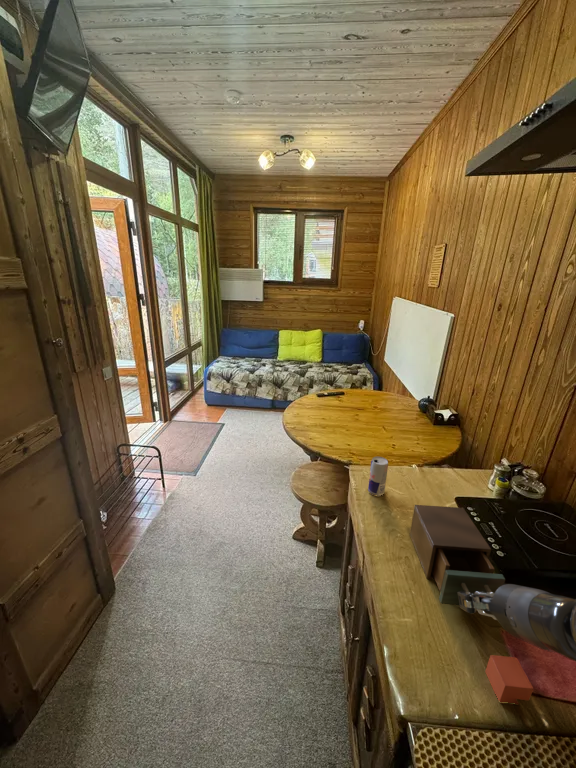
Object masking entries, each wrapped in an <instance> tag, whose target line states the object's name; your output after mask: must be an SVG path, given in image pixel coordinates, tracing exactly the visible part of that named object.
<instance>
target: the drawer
mask: <svg viewBox="0 0 576 768" xmlns="http://www.w3.org/2000/svg"><path fill="white" fill-rule="evenodd" d="M432 574H433V576H434V579H433V580H434V581H435V583H436V585H437V588H438V590H439V592H440V593H439V597H438V600H439V603H440V605H446V606H447V605H449V606H457V607H460V606H459V598H458V593H457V592H459V591H465V592H470V593H474V594H475V592H485V593H495V592H496V590H497V589H498V588H499V587H500V586H502V585H505V582H506V578H505V576H504V575H503V574H502V573H495V567H494V566H493V564H492V562H491V561H490V559H489V560H488V558H487V556H486V555H485V553H484V552H483V551H470V550H457V549H444V548H436V552H435V557H434V562H433V567H432ZM484 598H485V596H484ZM474 601H476V598H475V597H474Z"/></svg>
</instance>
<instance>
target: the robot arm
mask: <svg viewBox="0 0 576 768" xmlns="http://www.w3.org/2000/svg"><path fill="white" fill-rule="evenodd" d="M457 593H458V598H459V606H458V607H459V608H460V609H461V610H463V611H465V612H466V613H468V614H470V615H474V614H476V613H477V612H478V614H479V615H482V616H486V617H490V618H492V619H493V620H495V621H497V622H498V624H499V625H500V627H502V628H503V630H504V631H506V632H507V633H508V634H509V635H510V636H512V637H514V638H516V639H518V640H519V641H522V642H525V643H527V644H530V645H532V646H534V647H536V648H539V649H541V650H543V651H546V652H549V653H553V654H557V655H559V656H561V657H564V658H566V659H568V660H570V661H573V662H575V663H576V598H573V597H569V596H564V595H560V594H555V593H550V592H548V591H546V590H543V589H539V588H535V587H529V586H524V585H520V584H514V583H504V585H502V586H500V587H499V588H498V589H497V590H496V592H495V593H485V592H475V594H474V593H470V592H465V591H459V592H457ZM484 596H485V598H484ZM474 597H475V598H476V601H474Z"/></svg>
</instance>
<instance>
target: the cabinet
mask: <svg viewBox="0 0 576 768" xmlns="http://www.w3.org/2000/svg"><path fill="white" fill-rule="evenodd" d="M409 530H410V531H409V537H410V539H411V542H412V545H413V548H414V550H415V552H416V555H417V557H418V560H419V562H420V565H421V568H422V571H423V573H424V575H425V578H426V580H435V579H434V576H433V574H432V567H433V562H434V557H435V552H436V548H444V549H457V550H470V551H483V552H484V553H485V555H486V556H487V558H488V560H489V561H490V556H491V552H492V548H491V547H490V545H489V543H488V542H487V541H486V539H485V538H484V537H483V535H482V533H481V532H480V530H479V529H478V528H477V526H476V524H475V523H474V522H473V520H472V519H471V517H470V515H469V514H468V513H467V511H466V509H465V508H464V507H458V506H456V507H455V506H440V505H428V504H427V505H426V504H414V507H413V512H412V517H411V524H410V529H409Z"/></svg>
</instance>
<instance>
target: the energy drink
mask: <svg viewBox="0 0 576 768" xmlns="http://www.w3.org/2000/svg"><path fill="white" fill-rule="evenodd" d="M388 469H389V461H388V459H387V458H385V457H383V456H374V457H372V458H371V461H370V468H369V476H368V477H369V478H368V486H367V491H368V492H370V493H371V494H370V493H369V494H370V495H372V494H373V495H377V496H376V497H382V496H384V495H385V492H386V484H387V477H388ZM383 494H384V495H383ZM373 495H372V496H373ZM381 495H382V496H381Z"/></svg>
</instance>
